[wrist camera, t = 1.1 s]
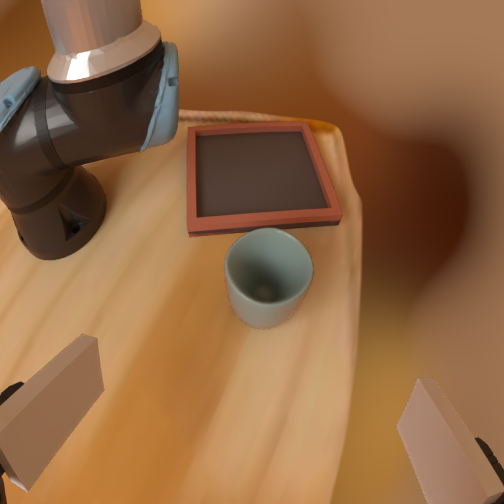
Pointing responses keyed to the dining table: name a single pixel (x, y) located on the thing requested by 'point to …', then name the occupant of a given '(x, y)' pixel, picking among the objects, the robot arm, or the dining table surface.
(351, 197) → the dining table surface
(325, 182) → the tray
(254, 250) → the cup
